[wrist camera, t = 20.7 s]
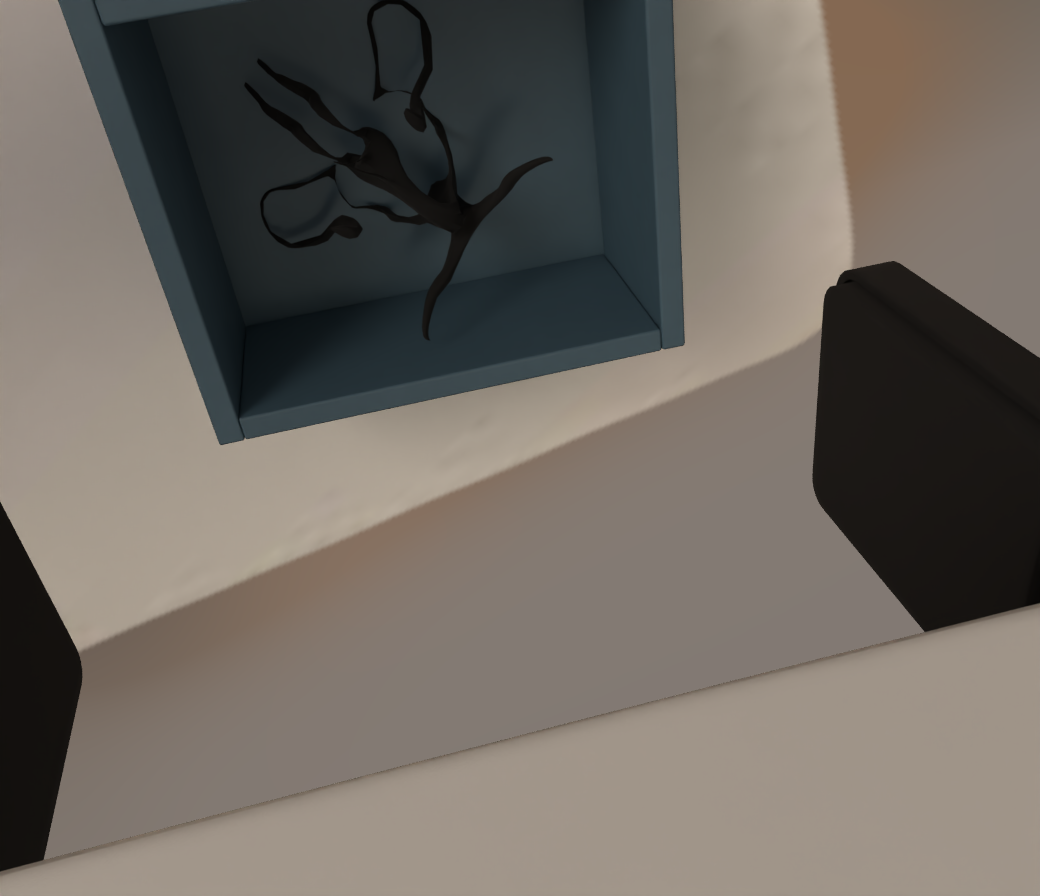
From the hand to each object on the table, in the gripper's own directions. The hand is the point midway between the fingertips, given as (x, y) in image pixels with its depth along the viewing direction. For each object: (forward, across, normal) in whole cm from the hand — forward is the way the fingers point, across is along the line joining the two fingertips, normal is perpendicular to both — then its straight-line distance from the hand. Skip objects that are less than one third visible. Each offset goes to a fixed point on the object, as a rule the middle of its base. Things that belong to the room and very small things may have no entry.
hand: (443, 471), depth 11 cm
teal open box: (+21, -2, +2) cm, 21 cm away
